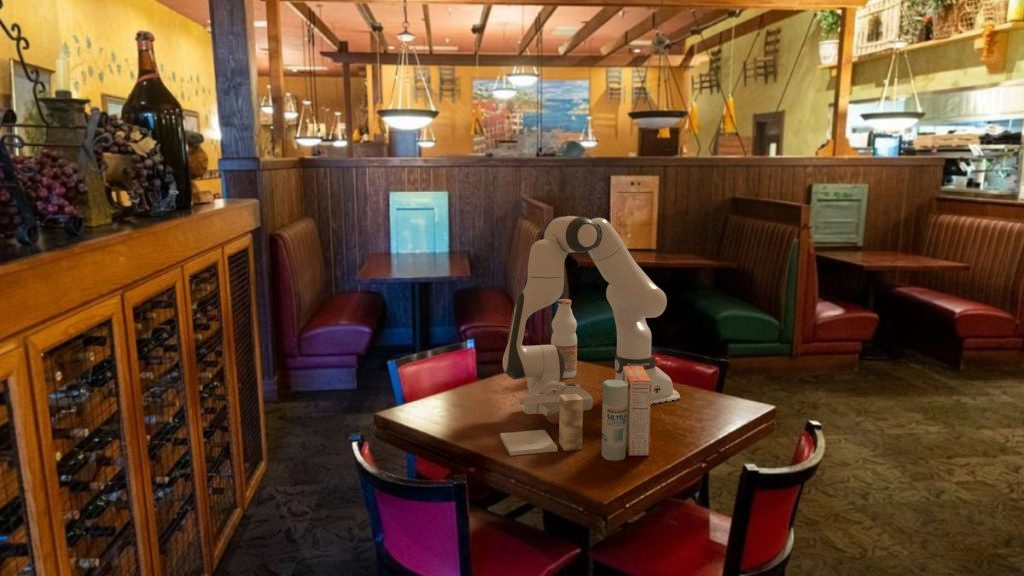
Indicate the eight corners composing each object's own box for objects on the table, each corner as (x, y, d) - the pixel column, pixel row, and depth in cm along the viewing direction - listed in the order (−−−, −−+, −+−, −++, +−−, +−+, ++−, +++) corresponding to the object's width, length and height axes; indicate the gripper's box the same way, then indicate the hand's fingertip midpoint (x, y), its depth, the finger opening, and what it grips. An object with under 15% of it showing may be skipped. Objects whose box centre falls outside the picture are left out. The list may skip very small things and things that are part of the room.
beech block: (576, 442, 196) (577, 393, 193) (582, 449, 191) (583, 399, 189) (559, 443, 195) (559, 394, 192) (564, 450, 190) (565, 400, 188)
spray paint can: (605, 461, 183) (606, 387, 179) (598, 452, 189) (599, 380, 186) (629, 460, 184) (631, 386, 180) (621, 450, 190) (623, 378, 187)
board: (544, 433, 202) (544, 429, 202) (557, 451, 189) (557, 446, 189) (499, 437, 199) (499, 433, 199) (510, 455, 187) (510, 451, 186)
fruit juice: (546, 376, 257) (547, 301, 253) (557, 370, 266) (558, 297, 261) (570, 380, 253) (571, 303, 248) (580, 373, 261) (581, 299, 256)
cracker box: (620, 436, 200) (622, 365, 196) (641, 436, 200) (644, 365, 196) (626, 456, 186) (628, 380, 182) (649, 456, 186) (652, 380, 182)
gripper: (517, 388, 207) (528, 403, 194) (583, 384, 211) (599, 398, 198) (517, 409, 208) (528, 425, 195) (583, 404, 212) (598, 419, 199)
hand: (564, 411), depth 196 cm, fingers open, 8 cm apart
